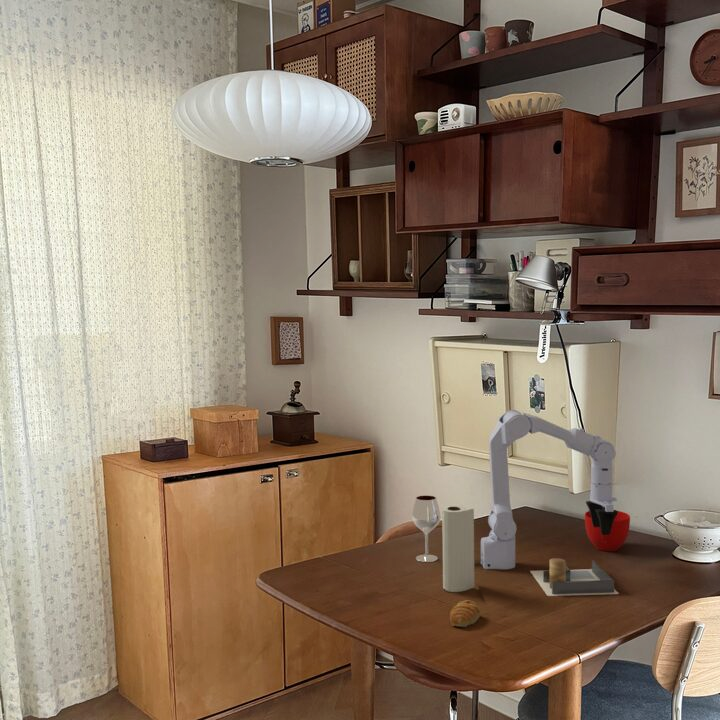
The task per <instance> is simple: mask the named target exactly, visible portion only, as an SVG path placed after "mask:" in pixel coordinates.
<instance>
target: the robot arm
mask: <svg viewBox="0 0 720 720" xmlns="http://www.w3.org/2000/svg"><path fill="white" fill-rule="evenodd" d="M539 432H540V433H542V434H545V435H548V436H550V437H553V438H556V439H559V440H561V441H564V444H565V446H566V448H569V449H571V450H573V451H575V452H578V453H581V454H583V455H586V456H590V460H591V462H590V463H591V464H590V492H589V493H590V495H589V500H588V501H587V500H586V501H585V504H586V507H587V508H588V511H590V514H591V519H592V524H593V527H600V530H601V534H602V535H610V532H611V528H612V524H613V521H614V519H615V517H616V516H617V514H618V511H619V510H617V509H614V502H617V498H616V497H615V496H613V460H615V457H616V455H617V452H616V449H615V447H614V445H613V444H612V443H611V442H609V441H607V440H606V439H603V438H602V437H601V436H600V435H597V434H596V435H593V434H591V433H588V432H586V431H585V429H584V428H583V427H582V428H581V427H578V428H576V427H574V428H570V429H566V428H563V427H561V426H559V425H556V424H554V423H553V422H550V421H548V420H546V419H543V418H542V417H539V416H536V415H534V414H529V413H526V412H520V411H518V410H516V409H510V410H508V411H506V412H504V413H503V414H502V415H501V416H500V417H499V418H498V419H497V423H496V425H495V427H494V429H493V431H492V433H491V434H490V436H489V439H488V452H489V469H490V471H489V473H490V486H491V487H490V488H491V489H490V490H491V504H490V512H489V515H488V518H487V522H488V526H489V528H490V529H491V530H490V531H489V534H488V536H486V537H485V536H484V537H481V539H480V565H482V567H483V569H484V570H512V569H514V568H515V567H516V534H517V530H518V529H517V528H518V527H517V524H516V522H515V520H514V517H513V510H512V507H511V499H510V498H511V497H510V496H511V495H510V477H509V464H508V463H509V462H508V448H509V447H510V446H511V445H512V444H513V443H514V442H515V441H517V440H520V439H522V438H524V437H525V436H527V435H528V434H529V433H530V434H532V435H533V434H536V433H539Z"/></svg>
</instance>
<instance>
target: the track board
mask: <svg viewBox="0 0 720 720" xmlns="http://www.w3.org/2000/svg"><path fill="white" fill-rule="evenodd" d="M529 572H530V574H531V575H532V576H533V578H534V579H535V581H536V583H538V585H539V586H540V587H541V589H542V590H543V592H544V593H545V594H546V596H548V597H559V596H561V597H562V596H594V595H595V596H596V595H597V596H599V595H619V594H620V593H619V592H618V591H617V589H615V588H614V593H581V594H552V589H551V588H550V582H543V570H529ZM599 580H600V579H599V578H598V577H597V576H596V575H595V574H594V573H593V572H592V568H589V569H587V568H586V569H582V568H581V569H570V581H599Z"/></svg>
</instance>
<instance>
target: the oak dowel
mask: <svg viewBox="0 0 720 720" xmlns="http://www.w3.org/2000/svg"><path fill="white" fill-rule="evenodd" d="M566 562H567V561H566V560H565V559H563V558H559V557H557V558H555V557H554V558H550V559H549V570H550V588H551V589H552V582H563V581H566V566H567V563H566Z"/></svg>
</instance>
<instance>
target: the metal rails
mask: <svg viewBox="0 0 720 720" xmlns="http://www.w3.org/2000/svg"><path fill="white" fill-rule="evenodd" d="M591 569H592V572H593V573H594V574H595V575H596V576H597V577H598V578H599V579H600V580H599V581H570V570H571V569H570V568H569V566H567V565H566V581H563V582H552V594H581V593H614V589H615V580H614V579H613V578H612V577H611V576H610V575H609V574H608V573H607V572H606V571H605V570H604V569H603V568H602V567H601V565H599V564H598V562H597V561H596V560H594V559H592V560H591ZM542 571H543V582H550V569H547V570H546V569H545V570H542Z"/></svg>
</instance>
